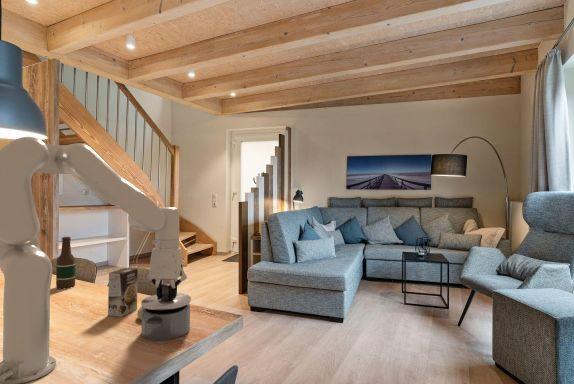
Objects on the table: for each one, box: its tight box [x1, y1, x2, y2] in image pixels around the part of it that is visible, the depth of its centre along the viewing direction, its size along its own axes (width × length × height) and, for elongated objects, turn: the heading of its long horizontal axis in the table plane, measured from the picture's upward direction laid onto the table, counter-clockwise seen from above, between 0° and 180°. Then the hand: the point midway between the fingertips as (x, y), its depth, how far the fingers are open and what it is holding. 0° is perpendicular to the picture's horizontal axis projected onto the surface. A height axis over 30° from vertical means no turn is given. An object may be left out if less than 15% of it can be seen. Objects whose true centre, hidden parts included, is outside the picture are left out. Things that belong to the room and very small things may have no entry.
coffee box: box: [107, 267, 139, 318], centre depth 132 cm, size 9×6×16 cm
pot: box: [141, 303, 191, 342], centre depth 115 cm, size 19×15×8 cm
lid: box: [141, 282, 192, 310], centre depth 115 cm, size 16×16×7 cm
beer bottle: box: [55, 236, 76, 289], centre depth 164 cm, size 8×8×24 cm
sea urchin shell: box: [136, 306, 143, 321], centre depth 127 cm, size 9×8×8 cm
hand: (166, 298), depth 115 cm, fingers closed on lid, 3 cm apart
